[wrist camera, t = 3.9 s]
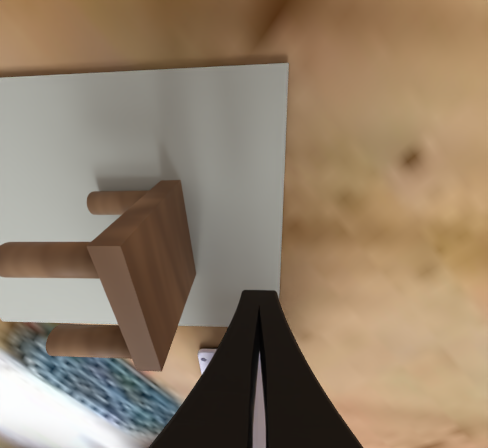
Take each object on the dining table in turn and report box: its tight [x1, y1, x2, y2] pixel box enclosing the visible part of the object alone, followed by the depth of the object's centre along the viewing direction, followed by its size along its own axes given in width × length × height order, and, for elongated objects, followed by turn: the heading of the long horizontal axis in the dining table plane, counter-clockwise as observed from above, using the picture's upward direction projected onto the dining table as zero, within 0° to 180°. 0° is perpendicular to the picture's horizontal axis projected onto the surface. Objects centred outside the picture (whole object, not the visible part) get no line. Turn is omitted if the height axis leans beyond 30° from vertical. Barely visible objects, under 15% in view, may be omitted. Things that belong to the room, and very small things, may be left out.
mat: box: [0, 63, 289, 327], centre depth 17 cm, size 18×24×1 cm
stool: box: [0, 180, 196, 371], centre depth 13 cm, size 5×7×7 cm
